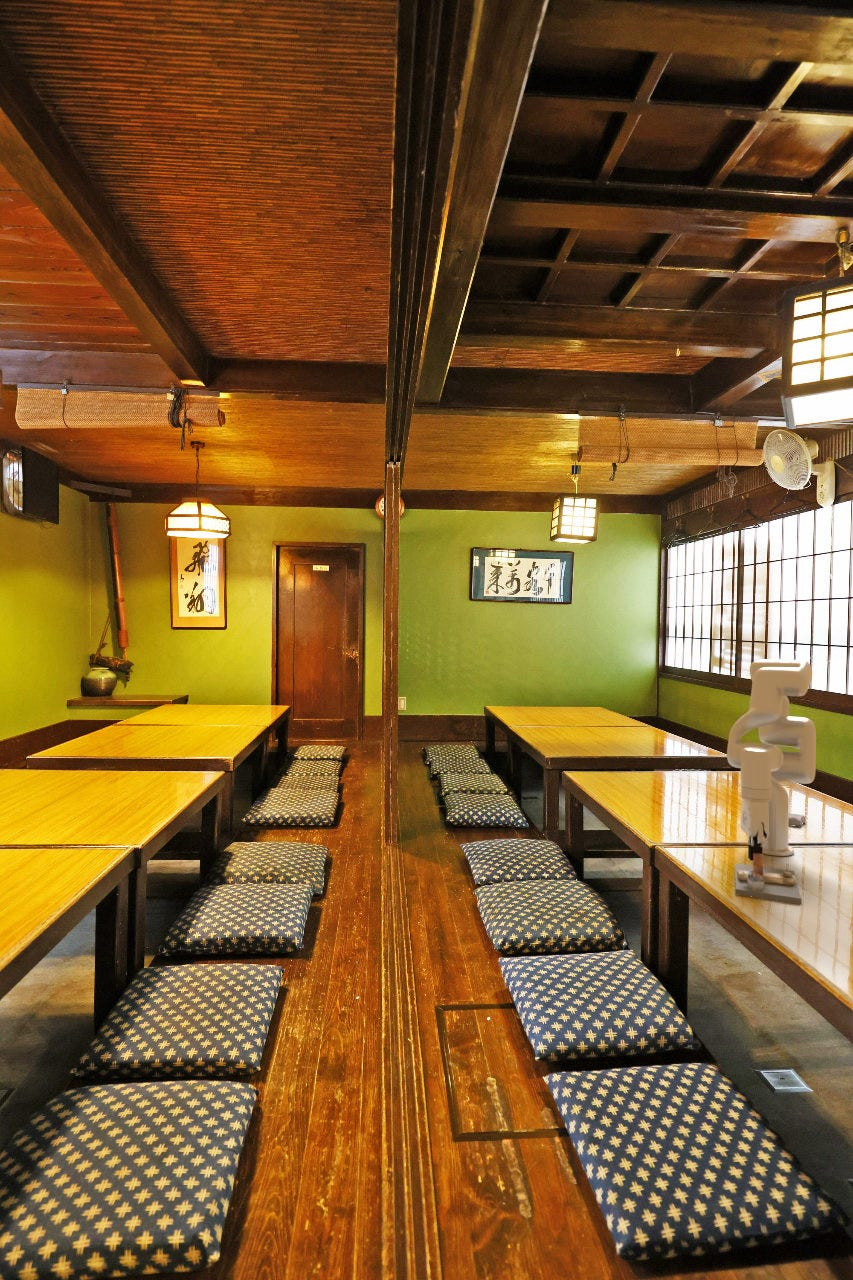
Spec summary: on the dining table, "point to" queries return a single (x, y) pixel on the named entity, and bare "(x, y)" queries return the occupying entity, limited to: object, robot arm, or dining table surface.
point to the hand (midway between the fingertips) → (755, 859)
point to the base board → (768, 887)
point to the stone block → (796, 819)
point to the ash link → (768, 877)
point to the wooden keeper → (754, 880)
